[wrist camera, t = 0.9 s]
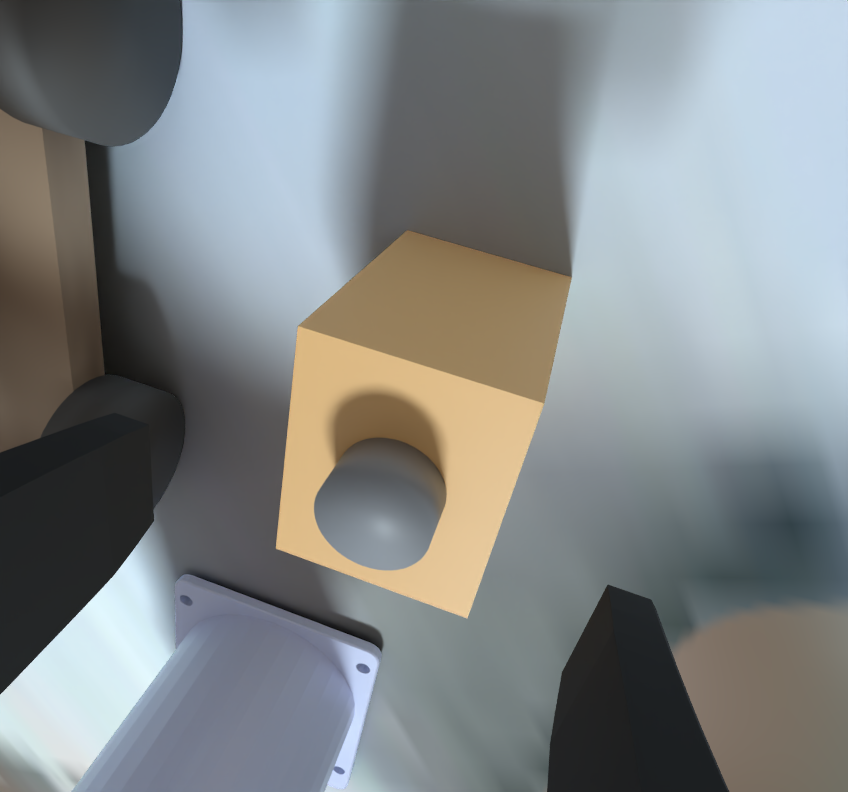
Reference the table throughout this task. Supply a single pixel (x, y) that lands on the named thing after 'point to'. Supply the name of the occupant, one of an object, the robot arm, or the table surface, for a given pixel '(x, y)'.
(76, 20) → the chassis
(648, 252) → the table surface
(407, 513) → the tan block with knob
